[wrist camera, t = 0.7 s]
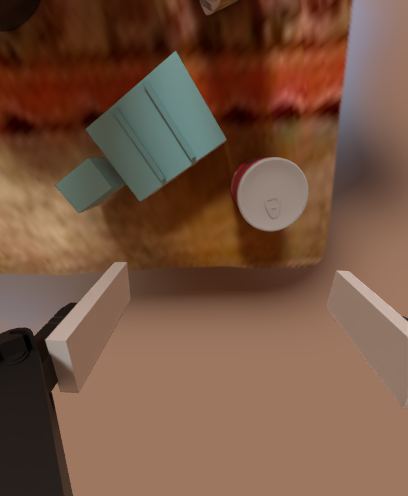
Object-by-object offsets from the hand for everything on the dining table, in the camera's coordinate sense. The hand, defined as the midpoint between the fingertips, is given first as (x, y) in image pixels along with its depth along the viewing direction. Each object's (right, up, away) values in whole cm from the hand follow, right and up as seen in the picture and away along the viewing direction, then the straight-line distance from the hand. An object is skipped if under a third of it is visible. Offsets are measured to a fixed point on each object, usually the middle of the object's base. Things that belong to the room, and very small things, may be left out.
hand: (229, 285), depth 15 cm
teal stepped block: (-10, +15, +15) cm, 24 cm away
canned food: (+6, +12, +21) cm, 25 cm away
